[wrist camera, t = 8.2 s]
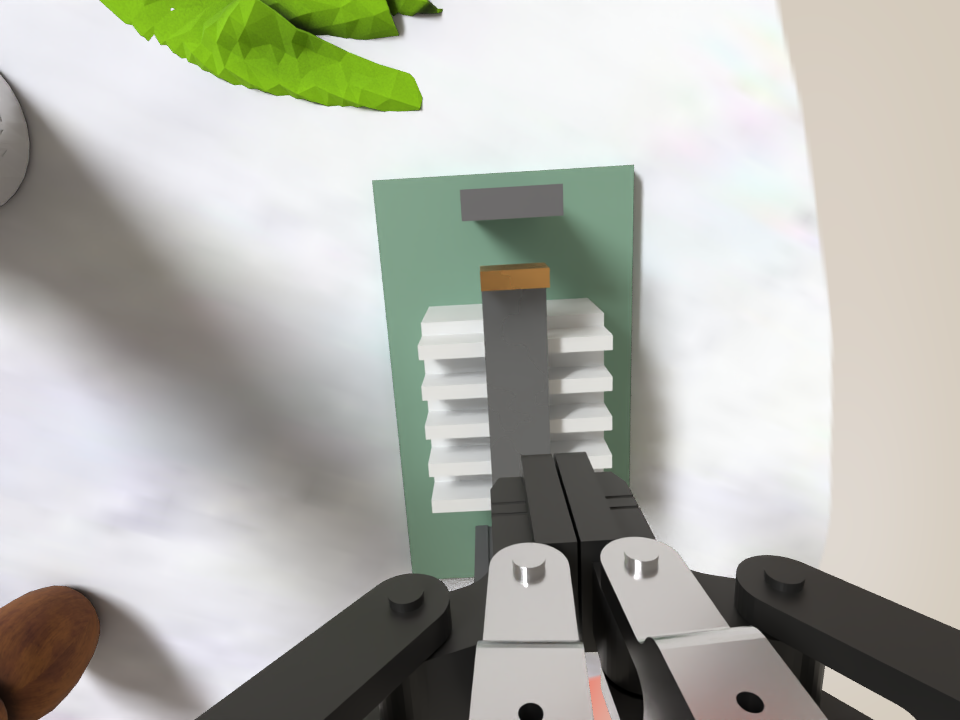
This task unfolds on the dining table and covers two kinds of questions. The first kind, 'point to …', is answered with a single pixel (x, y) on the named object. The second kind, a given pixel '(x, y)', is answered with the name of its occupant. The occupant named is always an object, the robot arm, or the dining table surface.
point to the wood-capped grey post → (516, 363)
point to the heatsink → (460, 334)
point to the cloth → (284, 45)
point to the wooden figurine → (44, 649)
